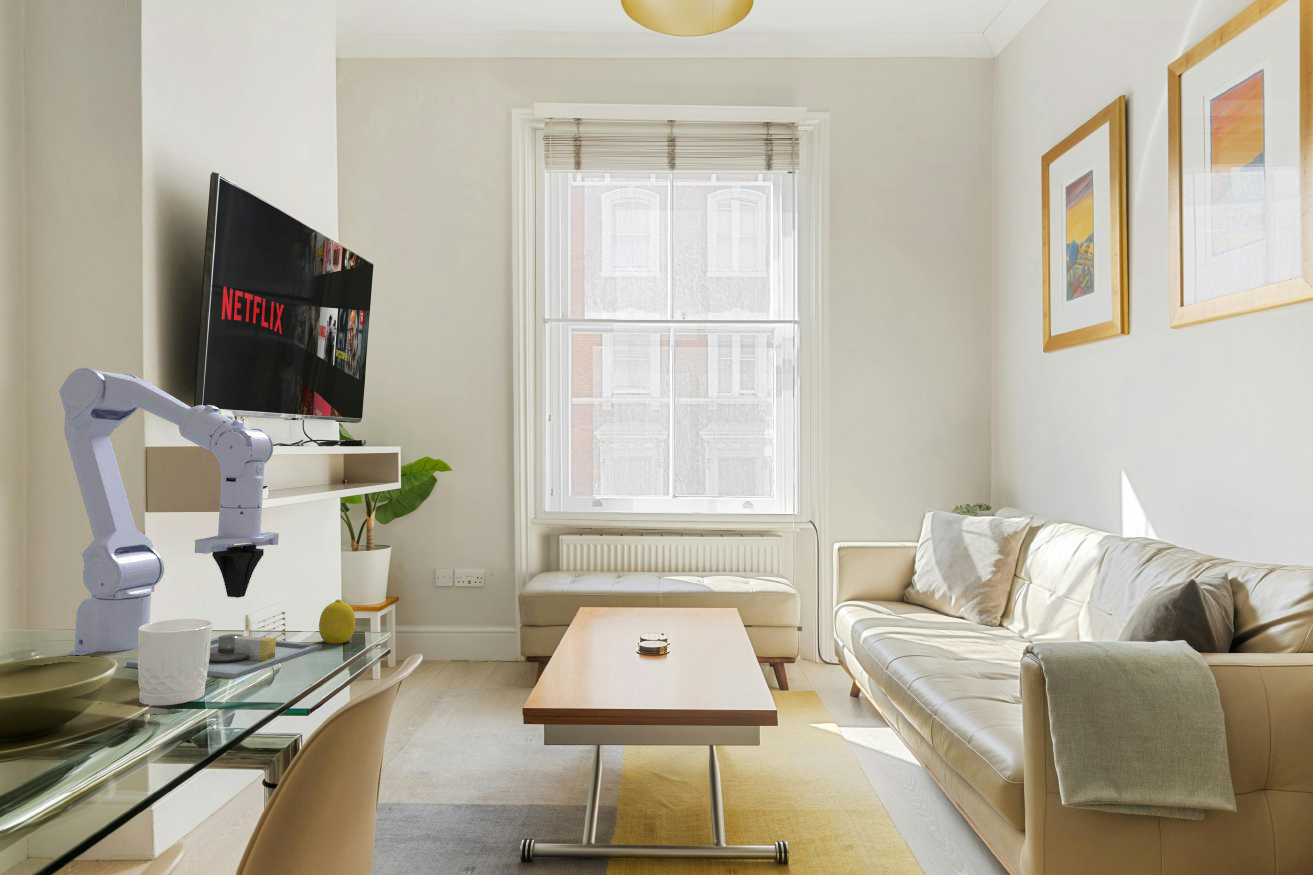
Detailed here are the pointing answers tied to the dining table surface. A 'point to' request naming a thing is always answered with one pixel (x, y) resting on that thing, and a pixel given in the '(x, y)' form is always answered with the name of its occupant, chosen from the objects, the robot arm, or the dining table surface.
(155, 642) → the white cup
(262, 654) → the dial
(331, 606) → the lemon
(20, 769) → the dining table surface
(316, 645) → the dial plate
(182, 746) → the dining table surface
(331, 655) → the dining table surface
